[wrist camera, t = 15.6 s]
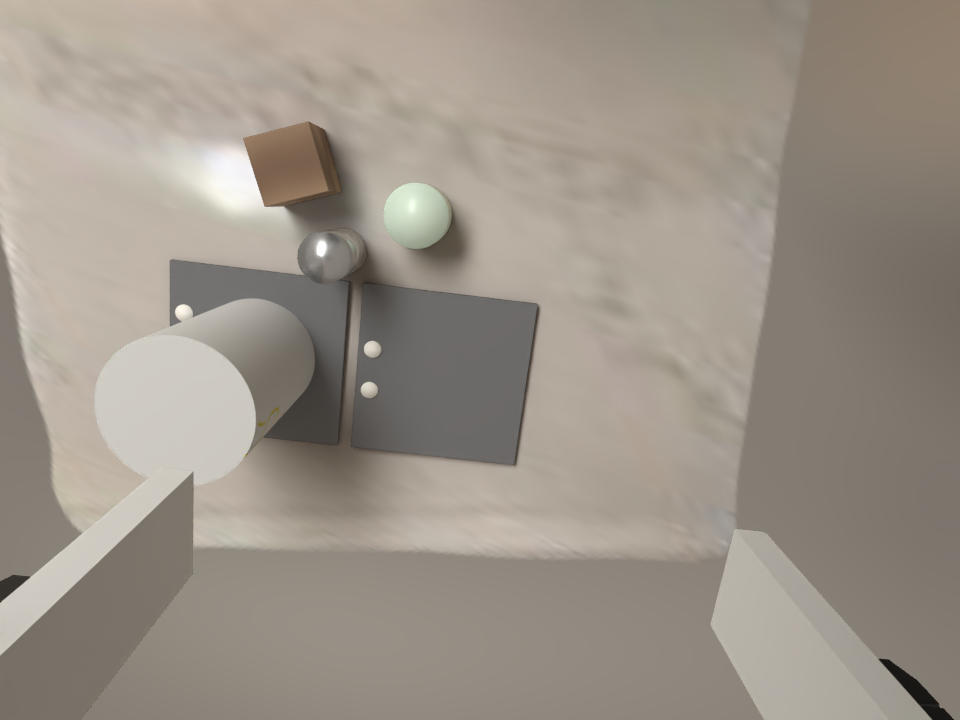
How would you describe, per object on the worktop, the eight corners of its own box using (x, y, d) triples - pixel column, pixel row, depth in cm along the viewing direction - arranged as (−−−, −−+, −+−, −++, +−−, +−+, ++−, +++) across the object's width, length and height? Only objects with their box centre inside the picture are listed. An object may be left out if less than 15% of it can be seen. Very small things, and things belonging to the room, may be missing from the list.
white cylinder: (221, 422, 44) (129, 501, 32) (181, 313, 42) (68, 355, 30) (329, 396, 43) (276, 467, 32) (294, 286, 41) (224, 318, 30)
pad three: (172, 259, 41) (169, 260, 41) (349, 281, 42) (348, 282, 41) (172, 425, 44) (169, 427, 44) (338, 443, 45) (337, 446, 44)
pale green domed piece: (392, 243, 41) (383, 247, 38) (392, 182, 40) (383, 181, 37) (450, 246, 41) (446, 250, 38) (452, 185, 40) (448, 184, 37)
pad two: (364, 282, 42) (363, 283, 41) (536, 303, 42) (537, 304, 42) (352, 444, 45) (350, 447, 44) (513, 462, 45) (513, 465, 45)
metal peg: (323, 225, 41) (298, 229, 35) (368, 231, 41) (351, 235, 35) (321, 270, 42) (296, 280, 36) (364, 275, 42) (347, 287, 36)
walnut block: (265, 144, 40) (242, 138, 36) (324, 129, 39) (308, 121, 35) (284, 206, 41) (264, 206, 37) (342, 192, 40) (328, 190, 36)
